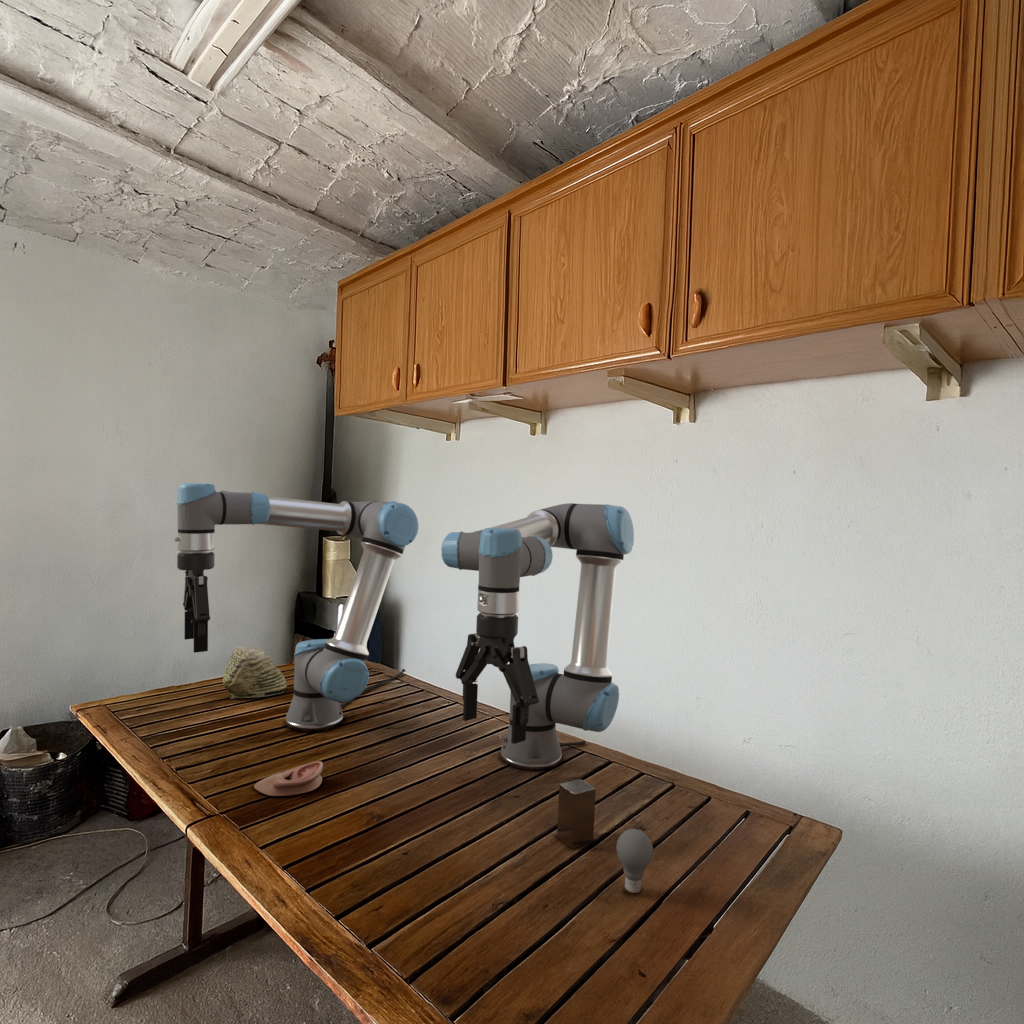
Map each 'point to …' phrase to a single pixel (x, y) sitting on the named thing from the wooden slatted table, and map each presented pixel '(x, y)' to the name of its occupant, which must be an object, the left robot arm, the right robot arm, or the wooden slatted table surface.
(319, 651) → the left robot arm
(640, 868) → the light bulb
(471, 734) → the wooden slatted table surface
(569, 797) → the block
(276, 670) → the fossil
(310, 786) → the anatomical model
